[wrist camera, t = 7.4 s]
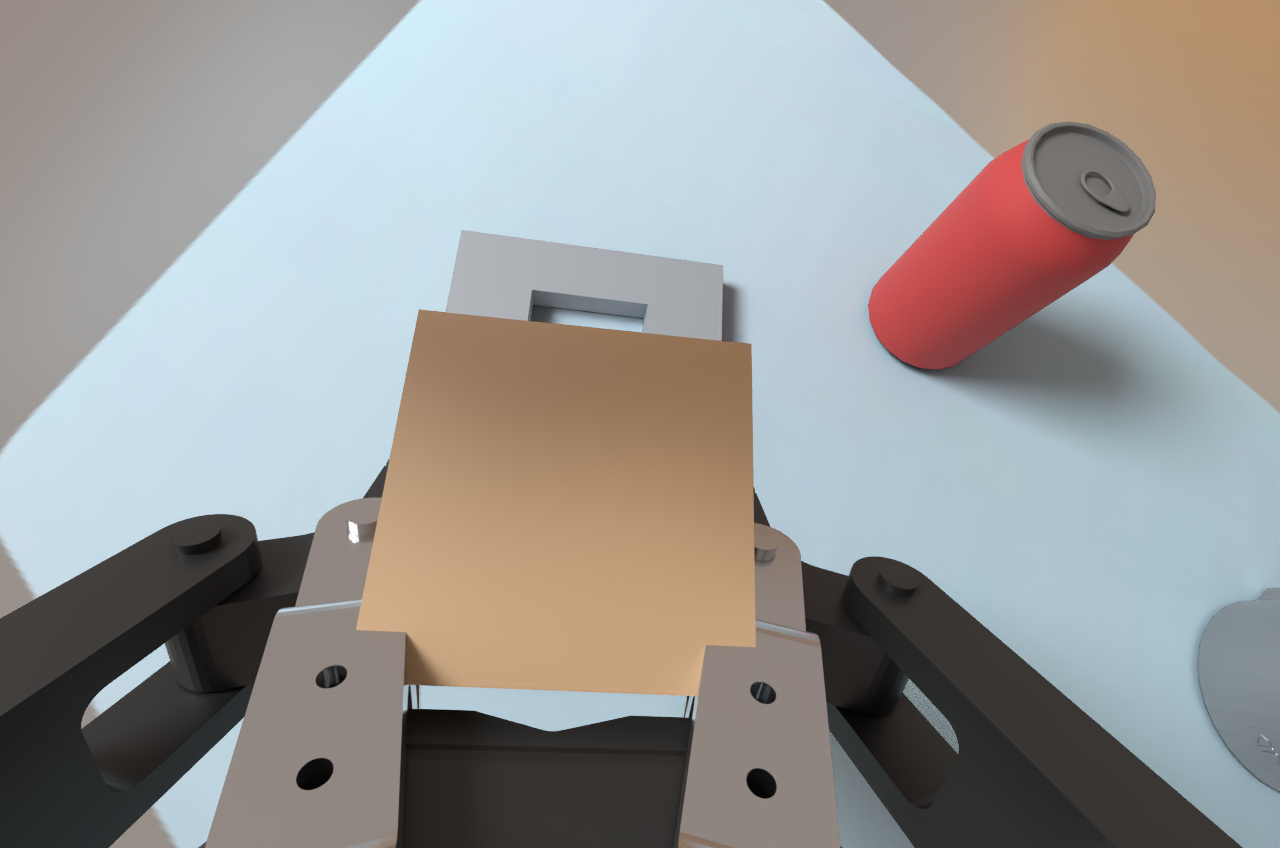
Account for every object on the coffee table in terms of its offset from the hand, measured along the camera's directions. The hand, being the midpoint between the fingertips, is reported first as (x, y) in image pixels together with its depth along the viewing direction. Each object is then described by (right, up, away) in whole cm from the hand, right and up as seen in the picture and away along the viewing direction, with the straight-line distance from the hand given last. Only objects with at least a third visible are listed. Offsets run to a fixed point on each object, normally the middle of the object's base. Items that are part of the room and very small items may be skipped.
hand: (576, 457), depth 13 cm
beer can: (+18, +7, +22) cm, 29 cm away
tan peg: (-1, -3, +3) cm, 5 cm away
